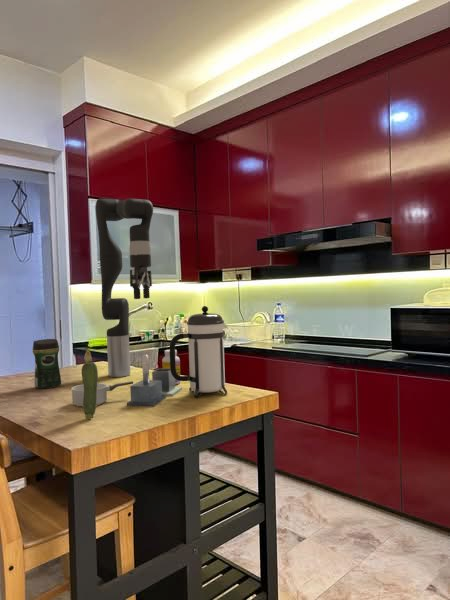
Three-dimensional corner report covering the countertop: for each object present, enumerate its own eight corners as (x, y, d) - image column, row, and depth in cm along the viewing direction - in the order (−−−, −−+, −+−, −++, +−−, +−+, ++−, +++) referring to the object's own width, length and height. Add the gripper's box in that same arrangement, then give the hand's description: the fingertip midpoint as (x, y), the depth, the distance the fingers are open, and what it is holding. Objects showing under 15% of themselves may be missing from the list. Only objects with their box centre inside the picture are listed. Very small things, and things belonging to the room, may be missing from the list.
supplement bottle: (173, 386, 163) (172, 351, 163) (159, 384, 167) (158, 351, 166) (183, 382, 169) (182, 349, 169) (170, 381, 172) (168, 348, 172)
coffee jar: (59, 383, 176) (57, 337, 176) (62, 386, 169) (60, 338, 169) (33, 386, 171) (30, 339, 171) (35, 390, 164) (33, 341, 164)
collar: (159, 387, 157) (158, 368, 157) (174, 388, 156) (174, 368, 156) (152, 391, 152) (152, 371, 151) (169, 392, 150) (168, 371, 150)
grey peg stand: (140, 397, 148) (139, 353, 147) (166, 397, 146) (164, 352, 145) (126, 406, 137) (124, 358, 136) (153, 406, 135) (151, 358, 135)
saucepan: (137, 401, 143) (137, 384, 143) (73, 410, 134) (72, 392, 134) (129, 394, 153) (129, 378, 153) (69, 402, 145) (68, 385, 144)
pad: (155, 388, 160) (155, 386, 160) (181, 389, 158) (181, 387, 158) (145, 395, 150) (145, 393, 150) (172, 396, 148) (172, 393, 148)
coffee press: (201, 386, 161) (198, 305, 161) (238, 390, 152) (235, 304, 151) (169, 396, 147) (166, 307, 146) (207, 402, 138) (204, 307, 137)
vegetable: (85, 416, 127) (82, 347, 126) (100, 415, 127) (98, 347, 127) (81, 421, 122) (78, 349, 122) (97, 420, 123) (94, 349, 122)
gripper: (138, 256, 167) (140, 298, 168) (122, 253, 153) (123, 299, 154) (157, 255, 166) (158, 297, 166) (142, 252, 152) (143, 298, 152)
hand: (142, 298), depth 160 cm, fingers open, 8 cm apart
